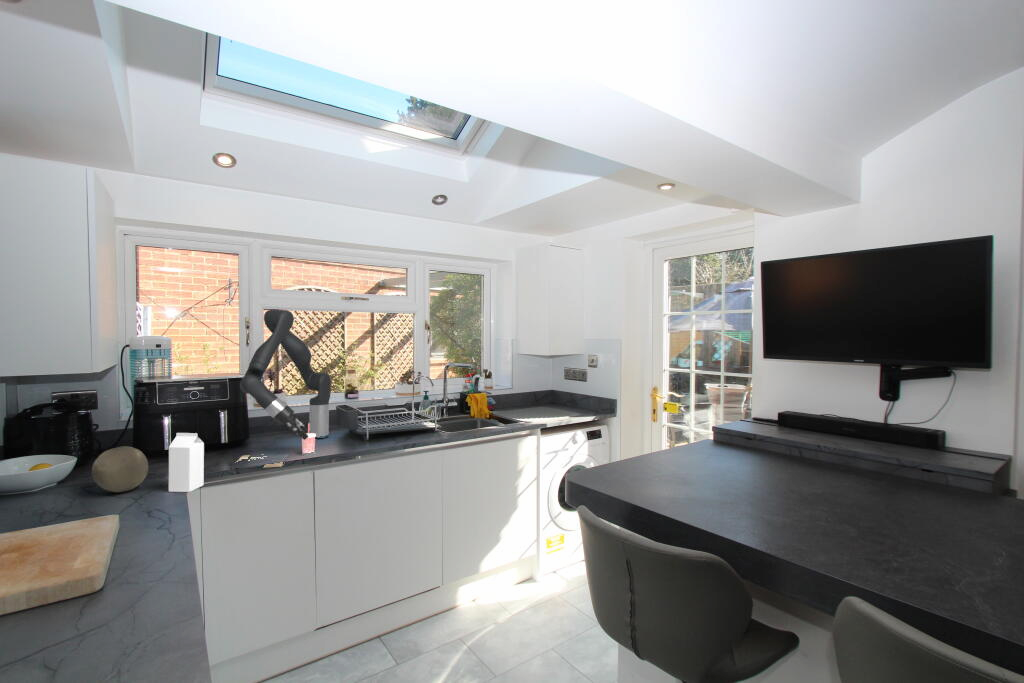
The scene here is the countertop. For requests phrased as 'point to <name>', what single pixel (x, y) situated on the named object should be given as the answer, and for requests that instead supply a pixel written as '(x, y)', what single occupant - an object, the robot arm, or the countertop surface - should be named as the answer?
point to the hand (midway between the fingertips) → (308, 436)
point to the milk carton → (186, 463)
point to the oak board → (262, 458)
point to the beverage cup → (308, 442)
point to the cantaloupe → (120, 469)
